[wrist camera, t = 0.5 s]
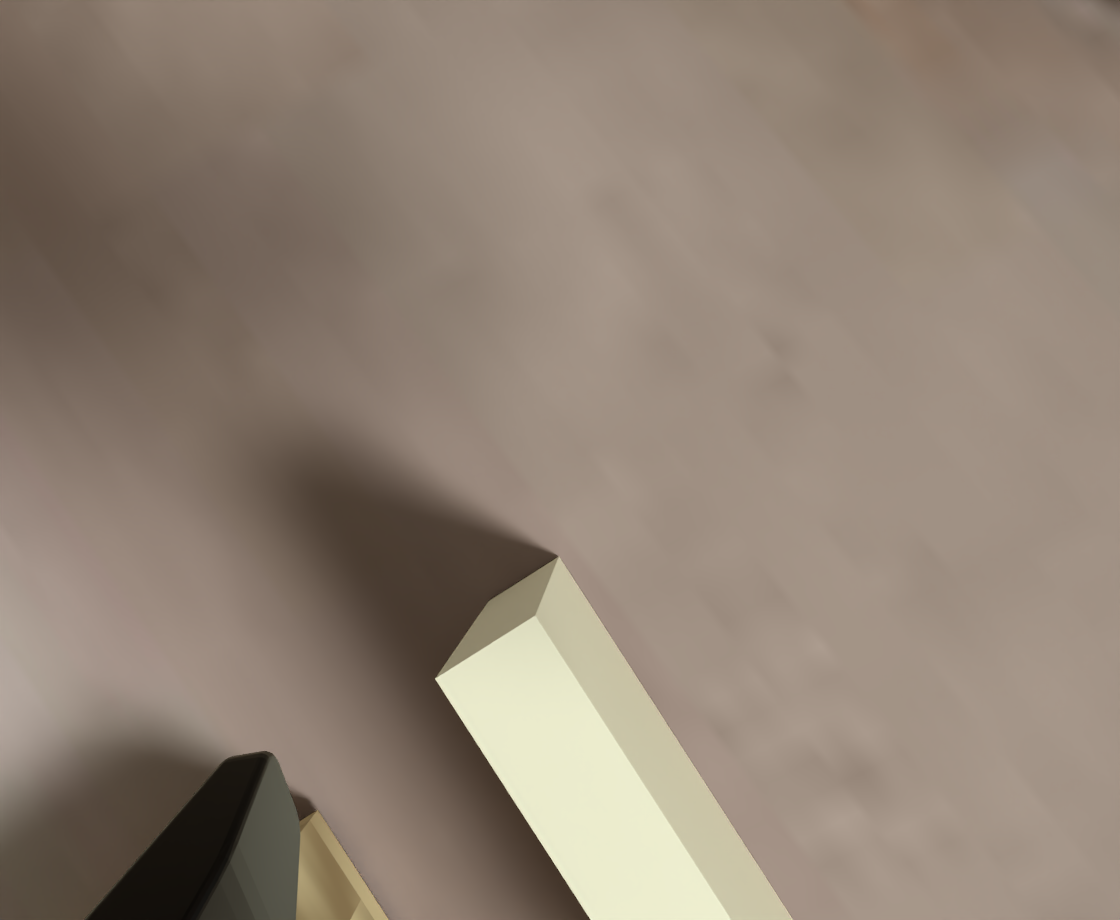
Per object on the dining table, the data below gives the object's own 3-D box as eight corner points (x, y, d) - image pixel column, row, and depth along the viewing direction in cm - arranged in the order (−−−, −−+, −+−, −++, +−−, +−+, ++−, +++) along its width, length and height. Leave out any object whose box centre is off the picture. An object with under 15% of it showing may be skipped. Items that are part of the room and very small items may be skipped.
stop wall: (855, 1017, 23) (958, 1272, 16) (783, 1059, 24) (854, 1329, 17) (558, 556, 23) (535, 615, 16) (488, 601, 23) (434, 678, 16)
